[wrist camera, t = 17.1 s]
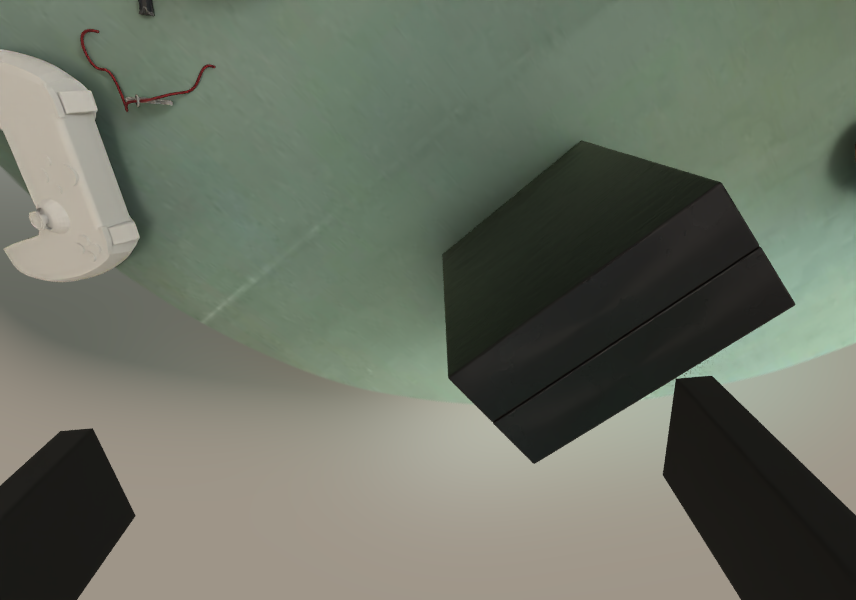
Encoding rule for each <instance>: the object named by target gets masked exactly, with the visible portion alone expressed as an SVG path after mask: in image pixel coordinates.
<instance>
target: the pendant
mask: <svg viewBox="0 0 856 600" xmlns="http://www.w3.org/2000/svg"><path fill="white" fill-rule="evenodd" d="M87 32H96V33H99V31H98V30H94V29H87V30H84V31H83V32H82V34H81V45H82V49H83V51H84V53H85V55H86V57H87V59H88V61H89V62H90V63H91V65H92V66H93V67H94V68H96V69H98V70H101V71H106V72H108V73H109V74H110V76H111V77H112V79H113V80H114V82H115V84H116V86H117V89H118V91H119V93H120V96H121V98H122V101H123V103H124V106H125V110H126V112H128V104H130V103H136V105H137V107H139V106H140V103H151V104H165V105H173V101H170V100H161V99H160V98H164V97H168V96H172V95H178V94H185V93H189V92H191V91H193V90H194V89H195V88H196V86H197V85H198V83H199V81H200V78H201V76H202V73H203V71H204V70H205V69H206V68H207V67H212V68H215V66H214V65H208V64H207V65H205V66H204V67H203V68H202V69H201V71H200V73H199V76H198V78H197V81H196V83H195V85H194V86H193V87H192V88H191V89H189V90H187V91H182V92H174V93H169V94H165V95H161V96H157V97H153V98H144V97H138V95H137V94H136V95H135V97H125V98H126V101H127V102H125V99H124V96H123V94H122V92H121V89H120V87H119V85H118V83H117V81H116V79H115V77H114V76H113V74H112V73H111V72H110V71H109V70H107V69H104V68H99V67H97V66H96V65H95V64H94V63H93V62H92V61H91V59H90V58H89V56H88V54H87V52H86V49H85V46H84V41H83V38H84V35H85V34H86V33H87Z"/></svg>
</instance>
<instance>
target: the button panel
mask: <svg viewBox="0 0 856 600" xmlns="http://www.w3.org/2000/svg"><path fill="white" fill-rule="evenodd" d="M442 261H443V281H444V302H445V322H446V342H447V363H448V378H449V379H450V380H451V381H452V382H453V383H454V384H455V385H456V386H457V387H458V388H459V389H460V390H461V391H462V392H463V393H464V394H465V395H466V396H467V397H468V398H469V399H470V400H471V401H472V402H473V403H474V404H475V405H476V406H477V407H478V408H479V409H480V410H481V411H482V412H483V413H484V414H485V415H486V416H487V417H488V418H489V419H490V420H491V421H492V422H493V424H494V425H495V426H496V427H497V428H498V429H499V430H500V431H501V432H502V433H504V434H505V436H506V437H507V438H508V439H509V440H510V441H511V442H512V443H514V445H516V447H517V448H518V449H519V450H520V451H521V452H522V453H523V454H524V455H525V456H527V457H528V458H529V459H530V460H531V462H532V463H534V464H535V463H536V462H538V461H540V460H542V459H543V458H545V457H547V456H548V455H550V454H552V453H553V452H555V451H556V450H558V449H560V448H561V447H563V446H564V445H566V444H568V443H570V442H571V441H573V440H574V439H576V438H578V437H579V436H581V435H583V434H584V433H586V432H588V431H589V430H591V429H593V428H594V427H596V426H598V425H599V424H601V423H602V422H604V421H606V420H607V419H609V418H611V417H612V416H614V415H616V414H617V413H619V412H620V411H622V410H624V409H625V408H627V407H628V406H630V405H632V404H634V403H635V402H637V401H639V400H640V399H642V398H643V397H645V396H647V395H648V394H650V393H652V392H653V391H655V390H657V389H658V388H660V387H662V386H663V385H665V384H666V383H668V382H670V381H671V380H673V379H675V378H676V377H678V376H680V375H681V374H683V373H685V372H686V371H688V370H689V369H691V368H693V367H694V366H696V365H698V364H699V363H701V362H703V361H704V360H706V359H707V358H709V357H711V356H712V355H714V354H716V353H717V352H719V351H721V350H722V349H724V348H726V347H727V346H729V345H730V344H732V343H734V342H735V341H737V340H739V339H740V338H742V337H744V336H745V335H747V334H749V333H750V332H752V331H753V330H755V329H757V328H758V327H760V326H762V325H763V324H765V323H767V322H768V321H770V320H772V319H773V318H775V317H776V316H778V315H780V314H781V313H783V312H785V311H786V310H788V309H790V308H791V307H793V306H794V305H795V302H794V301H793V299H792V298H791V296H790V294H789V293H788V291H787V289H786V288H785V286H784V284H783V283H782V281H781V279H780V278H779V276H778V274H777V273H776V271H775V269H774V268H773V266H772V265H771V263H770V261H769V260H768V258H767V256H766V255H765V253H764V251H763V250H762V248H761V247H759V244H758V242H757V240H756V239H755V237H754V235H753V234H752V232H751V230H750V229H749V227H748V226H747V224H746V222H745V221H744V219H743V217H742V216H741V214H740V212H739V211H738V209H737V207H736V206H735V204H734V202H733V201H732V199H731V197H730V196H729V194H728V193H727V191H726V189H725V188H724V186H723V184H722V183H721V182H718V181H715V180H712V179H708V178H705V177H702V176H698V175H695V174H692V173H688V172H685V171H682V170H678V169H675V168H672V167H668V166H665V165H662V164H658V163H655V162H652V161H648V160H645V159H642V158H638V157H635V156H632V155H628V154H625V153H622V152H618V151H615V150H612V149H608V148H605V147H602V146H598V145H595V144H592V143H588V142H585V141H580V142H579V143H578V144H577V145H575V146H574V147H573V148H572V149H571V150H569V151H568V152H567V153H566V154H564V155H563V156H562V157H561V158H560V159H558V160H557V161H556V162H555V163H553V164H552V165H551V166H550V167H549V168H547V169H546V170H545V171H544V172H542V173H541V174H540V175H539V176H538V177H536V178H535V179H534V180H533V181H531V182H530V183H529V184H528V185H527V186H525V187H524V188H523V189H522V190H520V191H519V192H518V193H517V194H516V195H514V196H513V197H512V198H511V199H509V200H508V201H507V202H506V203H505V204H503V205H502V206H501V207H500V208H498V209H497V210H496V211H495V212H494V213H492V214H491V215H490V216H489V217H487V218H486V219H485V220H484V221H483V222H481V223H480V224H479V225H478V226H476V227H475V228H474V229H473V230H472V231H470V232H469V233H468V234H467V235H465V236H464V237H463V238H462V239H460V240H459V241H458V242H457V243H456V244H454V245H453V246H452V247H451V248H449V249H448V250H447V251H446V252H445V253H443V254H442Z"/></svg>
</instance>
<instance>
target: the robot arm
mask: <svg viewBox="0 0 856 600" xmlns="http://www.w3.org/2000/svg"><path fill="white" fill-rule="evenodd" d="M663 476H664V478H665V479H666V481H667V482H668V484H669V486H670V487H671V489H672V490H673V492H674V493H675V495H676V497H677V498H678V500H679V502H680V503H681V505H682V506H683V507H684V509H685V511H686V513H687V514H688V516H689V517H690V519H691V521H692V522H693V524H694V525H695V527H696V529H697V530H698V532H699V533H700V535H701V536H702V538H703V540H704V541H705V543H706V544H707V546H708V548H709V549H710V551H711V552H712V554H713V555H714V557H715V559H716V560H717V562H718V564H719V565H720V567H721V568H722V570H723V572H724V573H725V575H726V576H727V578H728V579H729V581H730V583H731V584H732V586H733V587H734V589H735V591H736V592H737V594H738V595H739V597H740V599H741V600H856V515H855V514H854V513H853V512H852V511H851V510H849V509H848V507H846V506H845V505H844V504H843V503H842V502H841V501H840V500H839V499H838V498H837V497H836V496H835V495H834V494H833V493H832V492H831V491H830V490H829V489H828V488H827V487H826V486H825V485H824V484H823V483H822V482H821V481H820V480H819V479H818V478H817V477H816V476H814V475H813V474H812V473H811V472H810V471H809V470H808V469H807V468H806V467H805V466H804V465H803V464H802V463H801V462H800V461H799V460H798V459H797V458H796V457H795V456H794V455H793V454H792V453H791V452H790V451H789V450H788V449H787V448H786V447H785V446H784V445H783V444H781V443H780V442H779V441H778V440H777V439H776V438H775V437H774V436H773V435H772V434H771V433H770V432H769V431H768V430H767V429H766V428H765V427H764V426H763V425H762V424H761V423H760V422H759V421H758V420H757V419H756V418H755V417H754V416H753V415H752V414H751V413H749V411H748V410H747V409H745V408H744V407H743V406H742V405H741V404H740V403H739V402H738V401H737V400H736V399H735V398H734V397H733V396H732V395H731V394H730V393H729V392H728V391H727V390H726V389H725V388H724V387H723V386H722V385H721V384H720V383H719V382H718V381H717V380H716V379H715V378H714V377H713V376H704V377H692V378H680V379H676V382H675V390H674V397H673V404H672V412H671V419H670V426H669V434H668V442H667V448H666V456H665V464H664V470H663ZM134 517H135V514H134V512H133V510H132V508H131V506H130V504H129V502H128V499H127V497H126V496H125V493H124V492H123V489H122V487H121V485H120V483H119V481H118V479H117V477H116V475H115V473H114V471H113V469H112V467H111V465H110V463H109V461H108V459H107V457H106V455H105V452H104V451H103V448H102V447H101V444H100V442H99V440H98V438H97V436H96V434H95V432H94V430H93V429H81V430H69V431H60V432H59V433H58V434H57V435H56V436H55V437H54V438H52V439H51V440H50V441H49V442H48V443H47V444H46V445H45V446H44V447H43V448H41V449H40V450H39V451H38V452H37V453H36V454H35V455H34V456H33V457H31V458H30V459H29V460H28V461H27V462H26V463H25V464H24V465H23V466H22V467H20V468H19V469H18V470H17V471H16V472H15V473H14V474H13V475H12V476H11V477H9V478H8V479H7V480H6V481H5V482H4V483H3V484H2V485H1V486H0V600H77V599H78V597H79V596H80V595H81V593H82V592H83V590H84V589H85V587H86V586H87V584H88V583H89V582H90V580H91V578H92V577H93V576H94V575H95V573H96V572H97V570H98V569H99V567H100V566H101V565H102V563H103V562H104V560H105V559H106V557H107V556H108V554H109V553H110V552H111V550H112V549H113V547H114V546H115V544H116V543H117V542H118V540H119V539H120V537H121V536H122V534H123V533H124V532H125V530H126V529H127V527H128V526H129V524H130V523H131V522H132V520H133V519H134Z"/></svg>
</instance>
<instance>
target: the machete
mask: <svg viewBox="0 0 856 600" xmlns="http://www.w3.org/2000/svg"><path fill="white" fill-rule="evenodd" d="M138 1H139V9H140V11H139V14H141V15H151V16H155V15H154V13H153V8H152V0H138ZM146 11H147V12H146Z"/></svg>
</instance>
